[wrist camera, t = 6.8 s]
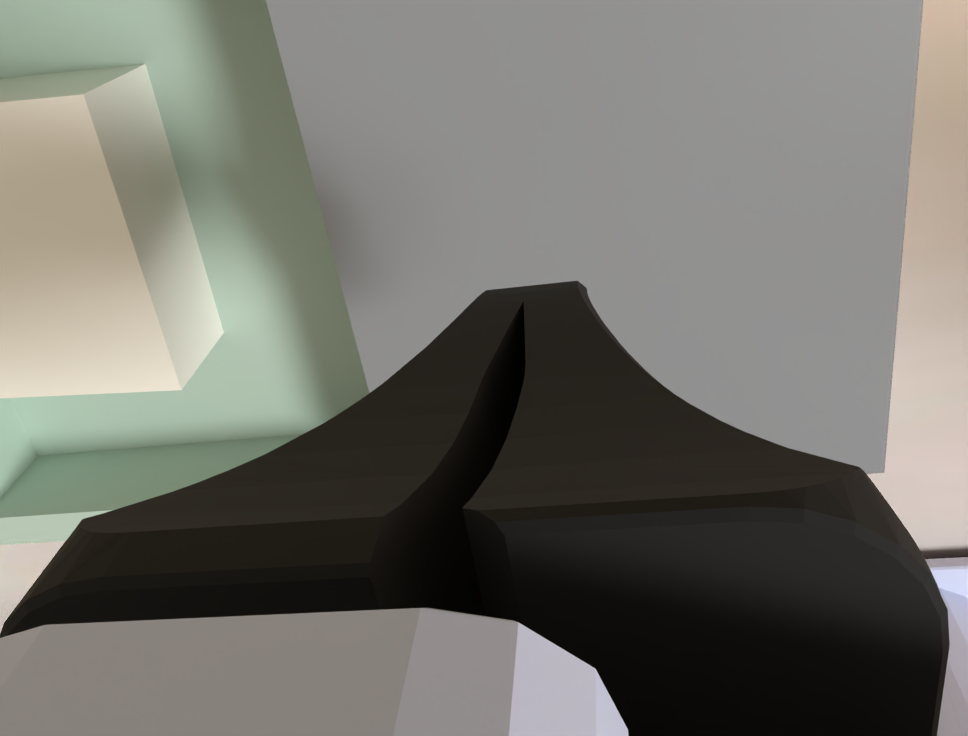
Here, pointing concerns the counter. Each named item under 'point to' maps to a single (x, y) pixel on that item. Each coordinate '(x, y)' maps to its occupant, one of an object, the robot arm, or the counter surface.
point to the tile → (95, 241)
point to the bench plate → (628, 185)
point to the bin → (227, 260)
